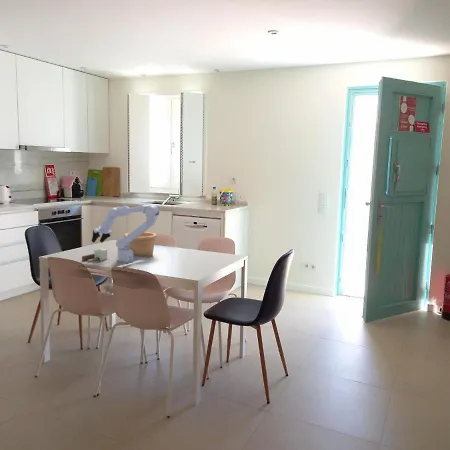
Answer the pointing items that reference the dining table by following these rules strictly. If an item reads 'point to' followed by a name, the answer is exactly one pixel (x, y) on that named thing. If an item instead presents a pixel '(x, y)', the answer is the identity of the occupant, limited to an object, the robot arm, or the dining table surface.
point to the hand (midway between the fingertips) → (96, 241)
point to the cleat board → (91, 259)
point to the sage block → (100, 254)
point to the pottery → (143, 244)
